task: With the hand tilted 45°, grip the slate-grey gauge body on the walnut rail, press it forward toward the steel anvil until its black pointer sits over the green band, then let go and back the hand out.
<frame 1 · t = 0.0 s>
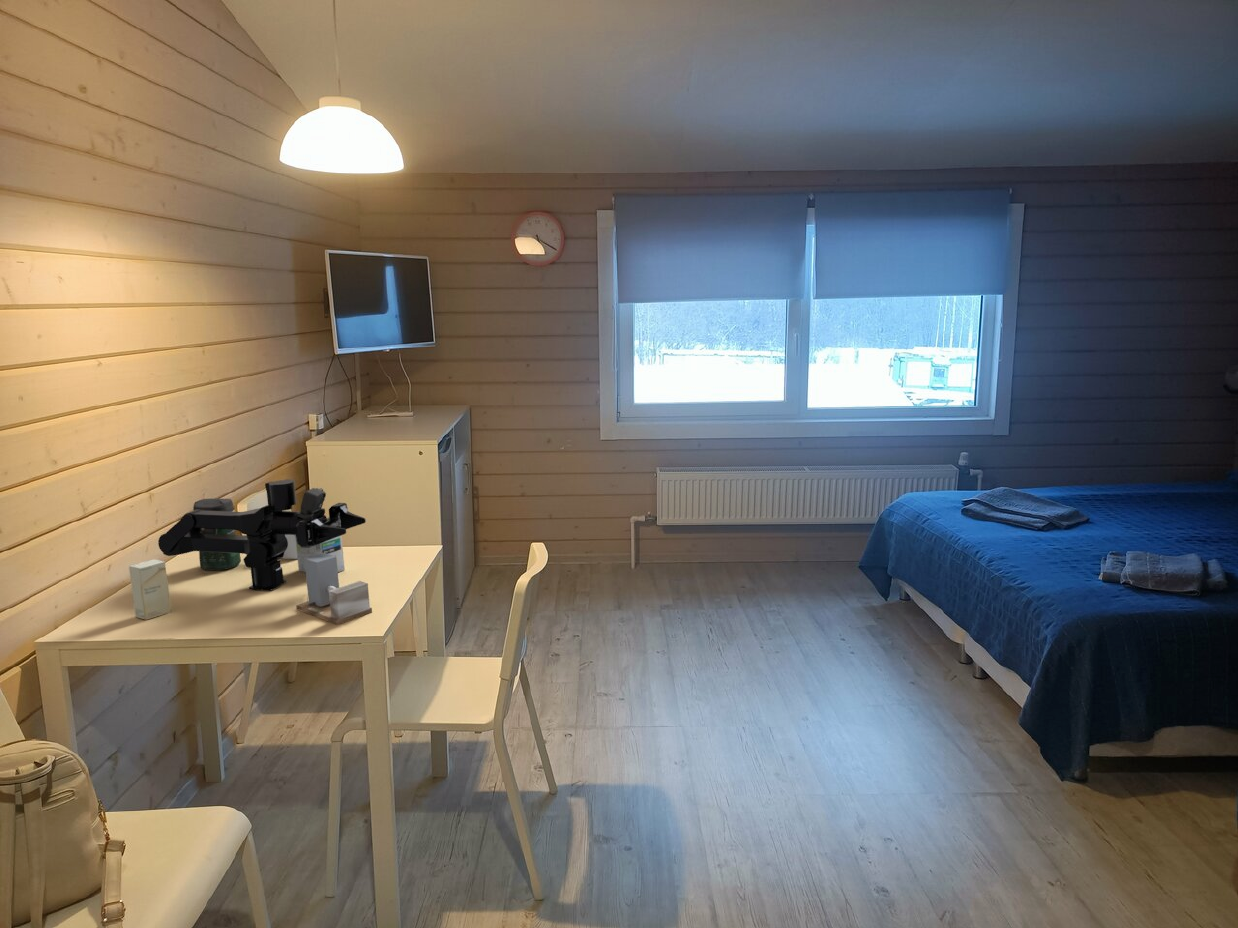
hand: (355, 525, 205), 17 cm above the table, tool horizontal, fingers open, 9 cm apart
light bulb box: (321, 571, 225), on the table
force gauge: (321, 580, 197), point 7 cm above the table, slide at 0.0 cm
gauge rail: (334, 610, 197), on the table
coffee jar: (221, 567, 230), on the table
skincare box: (154, 615, 197), on the table
medicine bottle: (294, 555, 239), on the table
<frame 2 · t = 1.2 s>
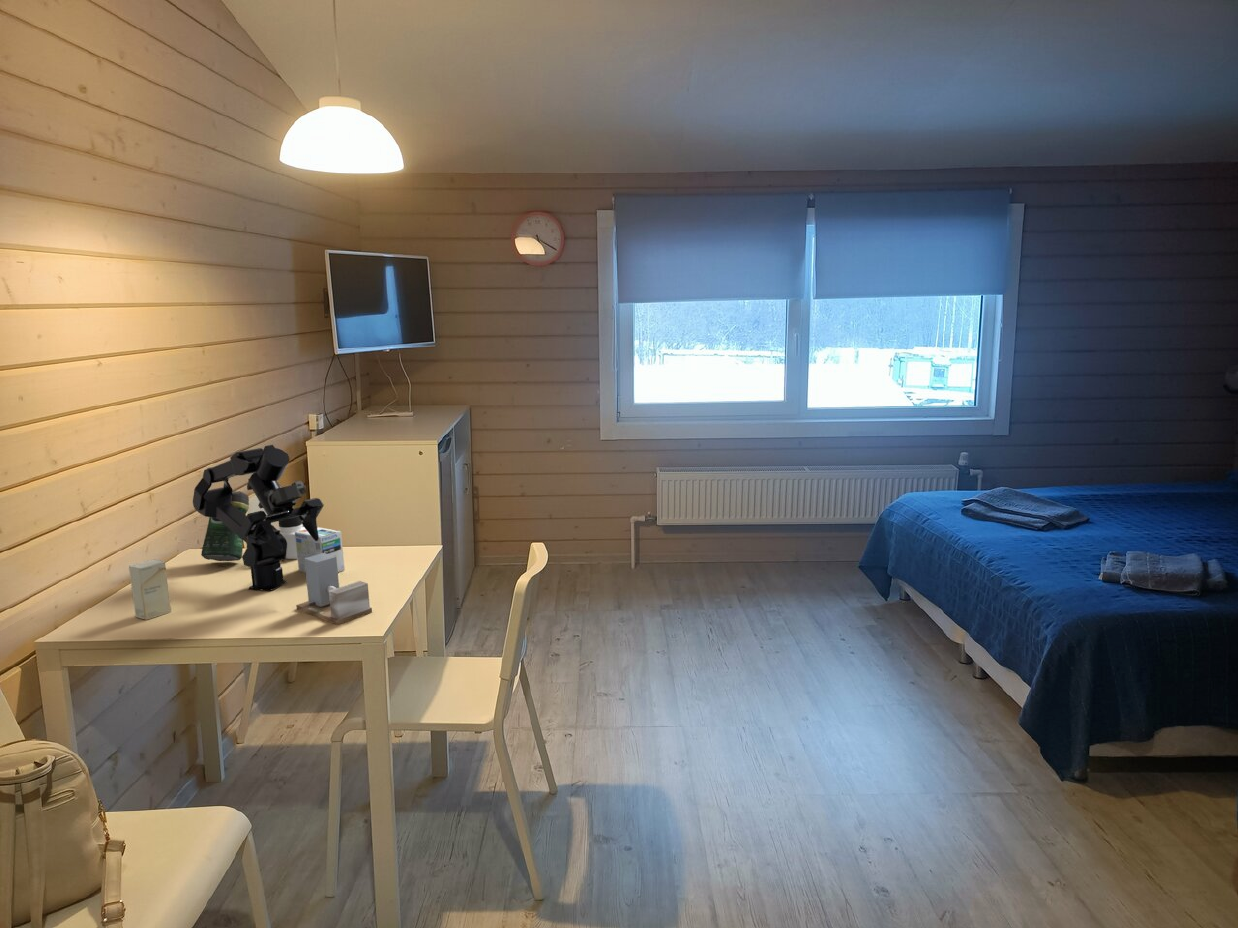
hand: (300, 544, 201), 14 cm above the table, tool tilted 45°, fingers open, 9 cm apart
coffee jar: (220, 560, 230), point 2 cm above the table
everything else where it was.
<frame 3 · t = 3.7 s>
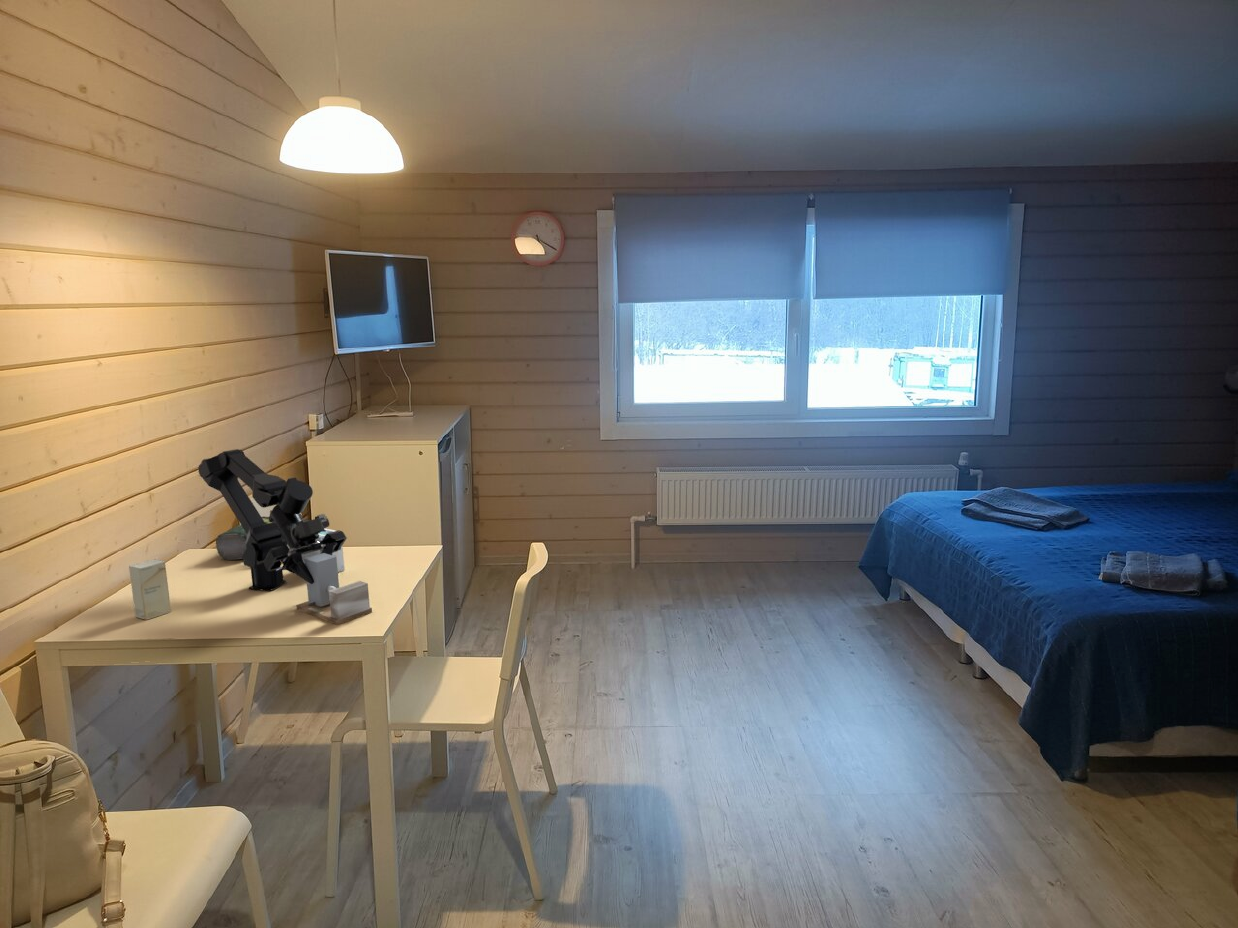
hand: (323, 579, 197), 7 cm above the table, tool tilted 45°, fingers closed on force gauge, 5 cm apart
force gauge: (321, 580, 197), point 7 cm above the table, slide at 0.0 cm, touching gripper
coffee jar: (230, 547, 233), point 4 cm above the table
everything else where it was.
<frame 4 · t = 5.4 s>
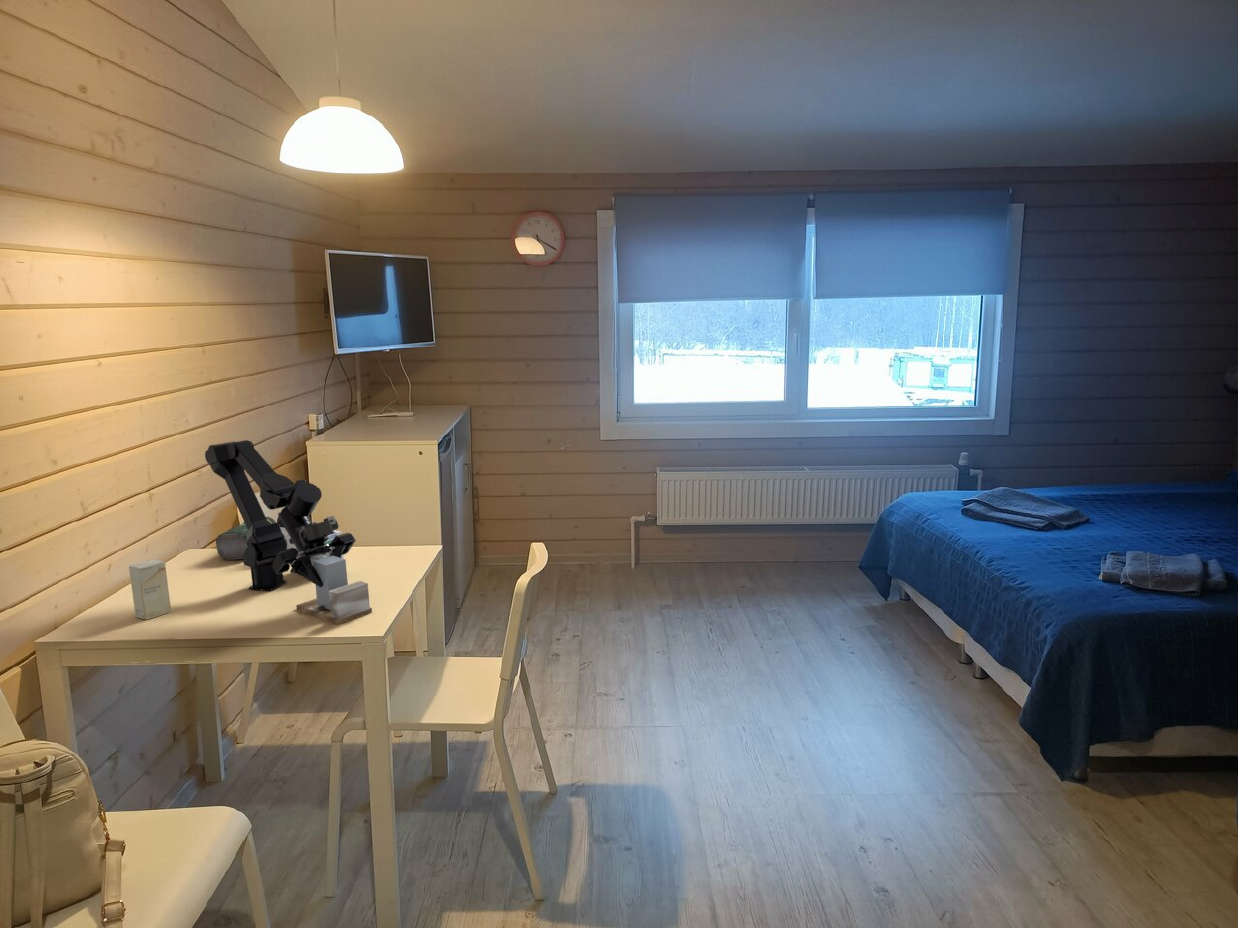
hand: (332, 582, 195), 7 cm above the table, tool tilted 45°, fingers closed on force gauge, 5 cm apart
force gauge: (330, 583, 195), point 7 cm above the table, slide at 3.5 cm, touching gripper
everything else where it was.
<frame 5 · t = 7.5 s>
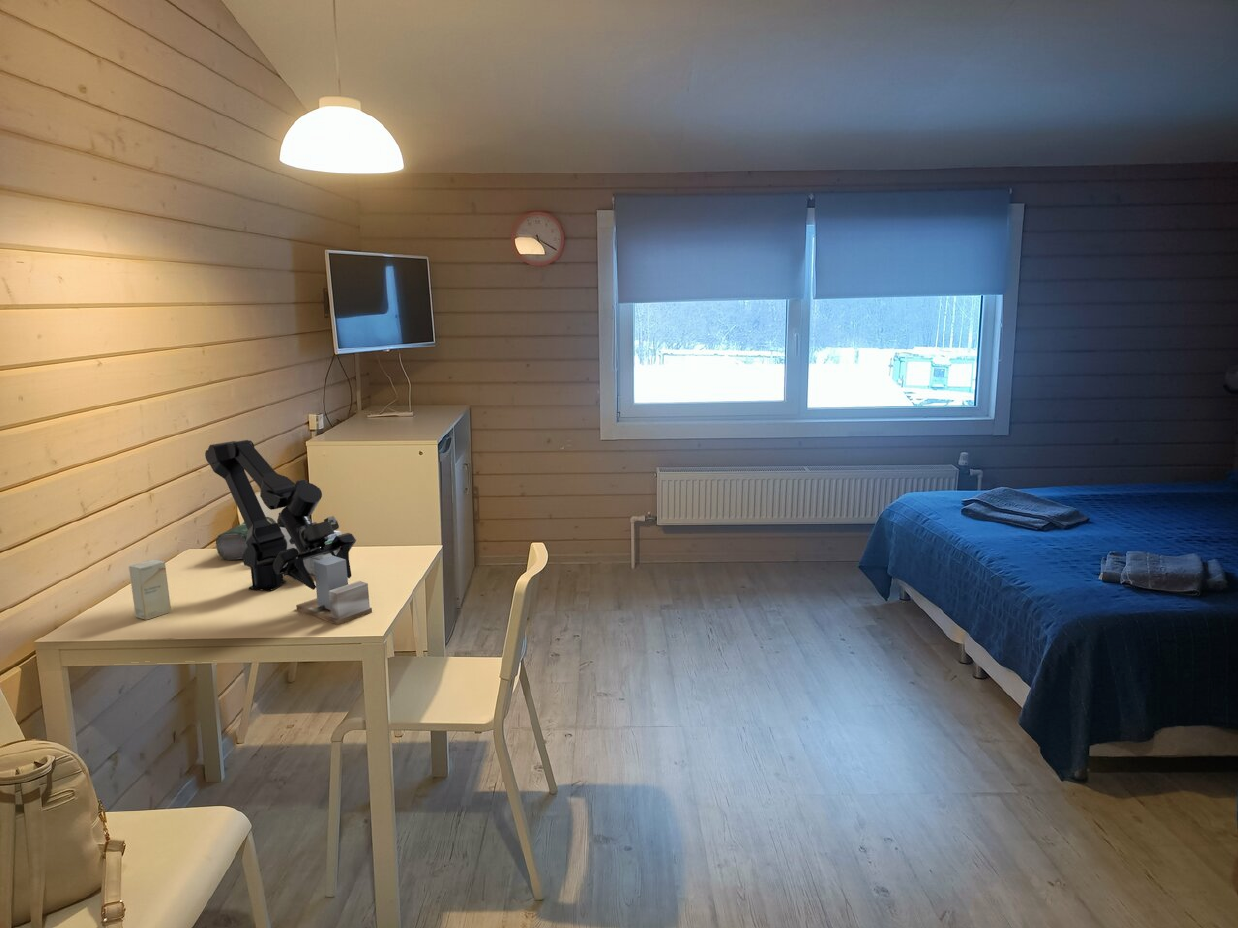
hand: (332, 582, 195), 7 cm above the table, tool tilted 45°, fingers open, 9 cm apart
force gauge: (331, 584, 195), point 7 cm above the table, slide at 3.7 cm
everything else where it was.
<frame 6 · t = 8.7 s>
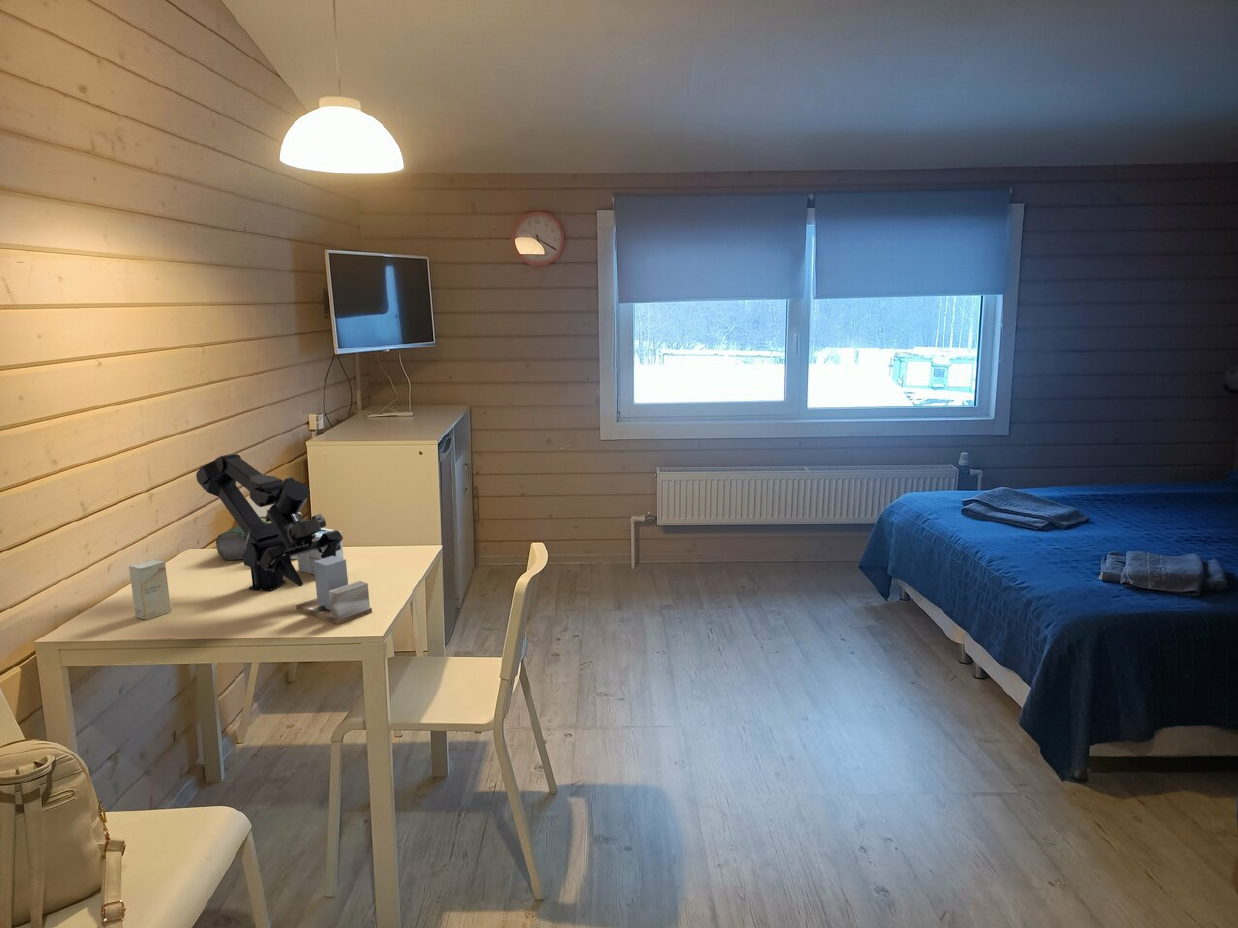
hand: (319, 579, 199), 7 cm above the table, tool tilted 45°, fingers open, 9 cm apart
nothing on the table moved.
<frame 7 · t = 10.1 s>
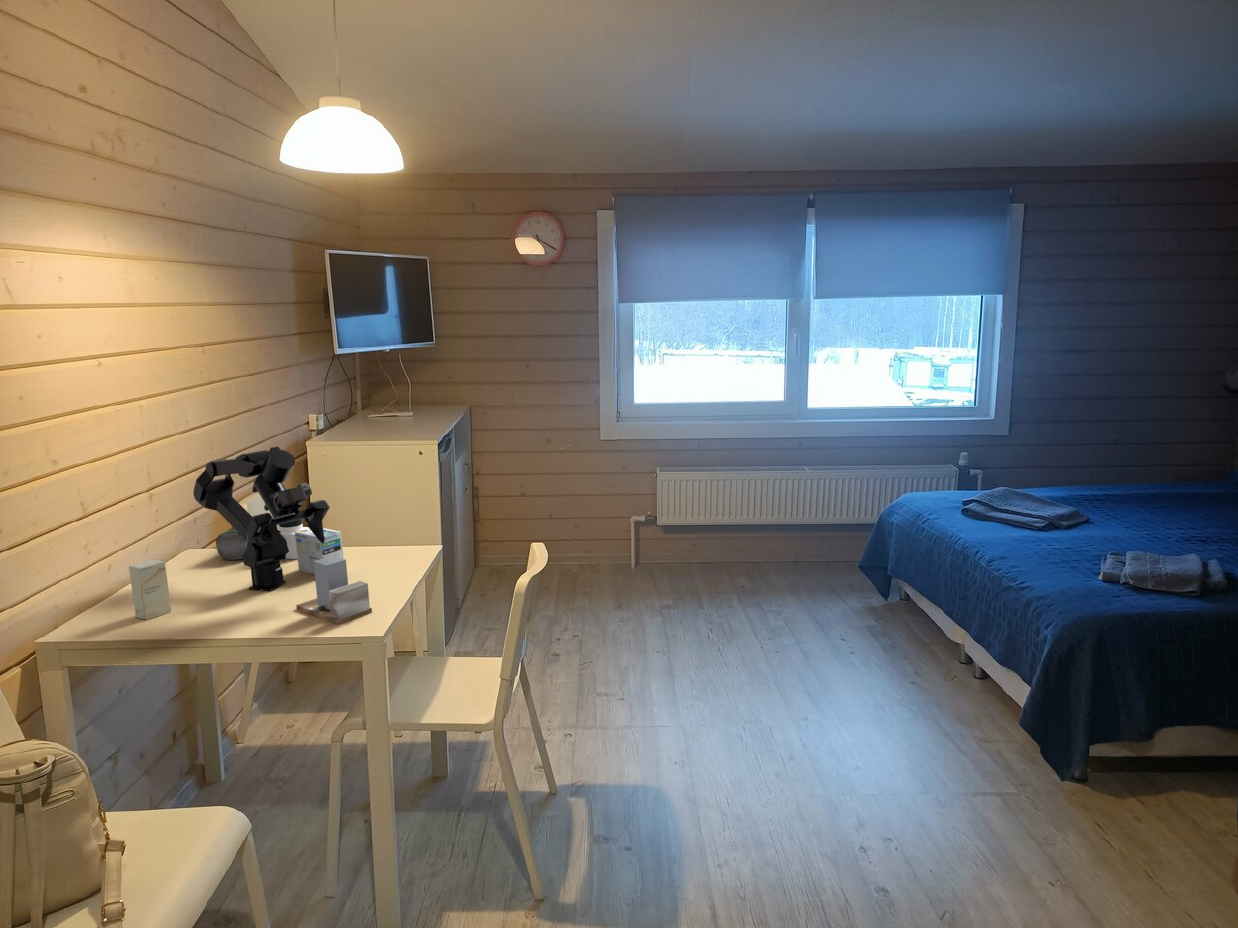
hand: (306, 547, 200), 13 cm above the table, tool tilted 45°, fingers open, 9 cm apart
nothing on the table moved.
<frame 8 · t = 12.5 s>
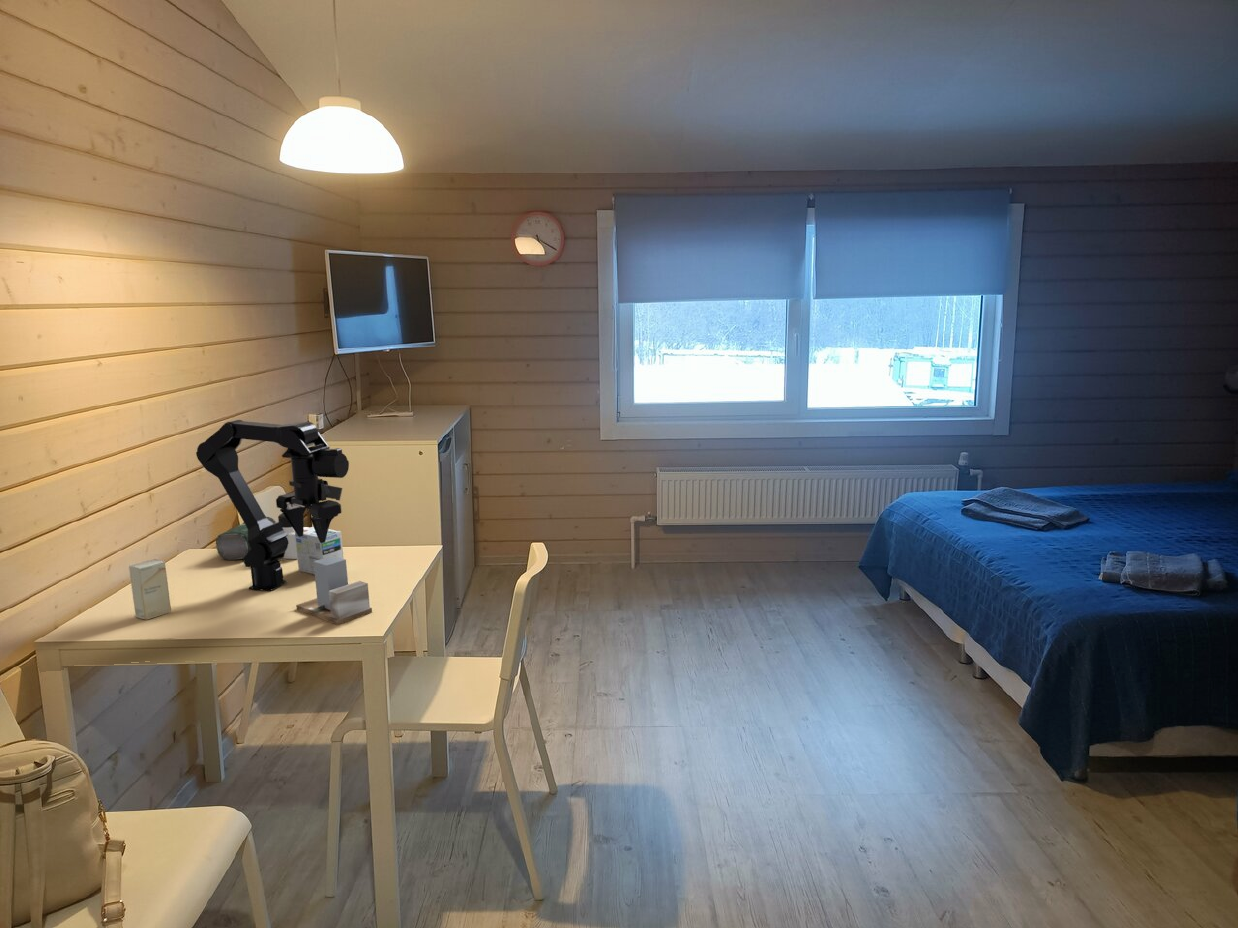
hand: (311, 539, 207), 13 cm above the table, tool pointing down, fingers open, 9 cm apart
nothing on the table moved.
at the end: force gauge slide at 3.7 cm; the gripper is holding nothing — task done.
